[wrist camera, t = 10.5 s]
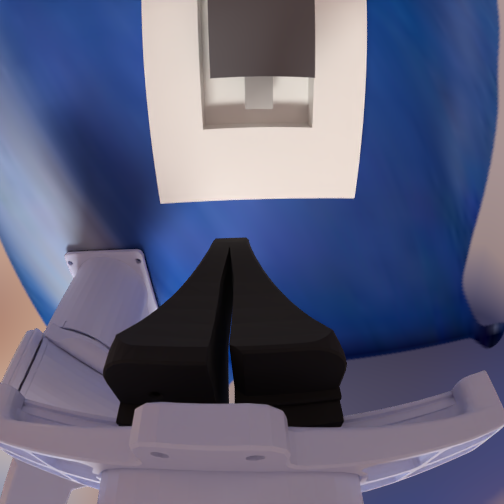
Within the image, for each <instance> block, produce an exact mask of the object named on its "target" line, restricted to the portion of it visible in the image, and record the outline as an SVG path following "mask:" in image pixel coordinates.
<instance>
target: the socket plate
mask: <svg viewBox="0 0 504 504" xmlns="http://www.w3.org/2000/svg"><path fill="white" fill-rule="evenodd" d="M142 36H143V56H144V71H145V84H146V95H147V106H148V116H149V125H150V133H151V142H152V149H153V157H154V164H155V171H156V178H157V184H158V191H159V197H160V203H161V204H164V203H179V202H197V201H217V200H243V199H280V198H354V197H355V190H356V183H357V175H358V166H359V158H360V148H361V138H362V127H363V115H364V101H365V83H366V57H367V4H366V0H315V78H309V77H281V76H273V109H245V82H244V77H226V78H210V61H209V35H208V0H142Z"/></svg>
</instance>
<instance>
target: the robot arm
mask: <svg viewBox="0 0 504 504" xmlns="http://www.w3.org/2000/svg"><path fill="white" fill-rule="evenodd" d="M137 259H140V260H141V261H138V260H137ZM65 260H66V263H67V265H68V268H69V270H70V273H71V275H72V277H73V280H72V282H71V284H70V285H69V287H68V289H67V291H66V292H65V294H64V296H63V298H62V300H61V301H60V303H59V305H58V307H57V309H56V311H55V313H54V314H53V316H52V318H51V320H50V322H49V324H48V326H47V328H46V330H45V331H44V333H42V332H41V331H40V330H39V329H37V328H36V329H34V330H30V331H27V332H26V334H25V335H24V337H23V339H22V341H21V342H20V345H19V346H18V348H17V350H16V352H15V354H14V356H13V358H12V360H11V362H10V364H9V366H8V368H7V371H6V373H5V375H4V377H3V380H2V382H0V449H1V450H3V451H4V452H6V453H7V454H9V455H10V456H12V457H13V459H12V462H11V465H10V468H9V471H8V474H7V477H6V481H5V484H4V487H3V491H2V494H1V498H0V504H67V501H68V498H69V496H70V493H71V491H72V490H74V489H77V488H82V487H87V486H88V487H92V488H95V489H98V490H99V495H98V502H97V504H363V498H362V492H365V491H369V490H372V489H376V488H379V487H382V486H385V485H389V484H392V483H395V482H398V481H400V480H403V479H406V478H409V477H412V476H414V475H417V474H419V473H422V472H424V471H427V470H429V469H432V468H434V467H437V466H439V465H441V464H444V463H446V462H448V461H450V460H453V459H455V458H457V457H460V456H462V455H464V454H466V453H468V452H470V451H472V450H474V449H476V448H477V447H478V446H480V445H481V444H482V443H484V442H485V441H486V440H488V439H489V438H490V437H491V436H493V435H494V434H495V433H496V432H498V431H499V430H500V429H501V428H502V427H504V409H503V407H502V404H501V402H500V400H499V397H498V395H497V393H496V391H495V389H494V387H493V385H492V383H491V381H490V379H489V377H488V375H487V373H486V371H481V372H479V373H476V374H473V375H470V376H467V377H465V378H463V379H461V380H460V381H459V382H458V383H457V384H456V385H455V386H454V388H453V389H452V391H449V392H446V393H443V394H440V395H437V396H433V397H429V398H426V399H422V400H418V401H415V402H411V403H407V404H403V405H399V406H394V407H390V408H385V409H381V410H375V411H370V412H366V413H360V414H354V415H348V416H343V413H342V408H341V404H340V400H341V392H340V387H339V386H340V384H341V381H342V379H343V376H344V373H345V371H346V366H347V362H346V358H345V354H344V352H343V349H342V347H341V345H340V343H339V341H338V339H337V337H336V335H335V333H334V331H333V330H332V329H330V328H328V327H326V326H325V325H323V324H321V323H319V322H318V321H316V320H314V319H313V318H311V317H310V316H308V315H307V314H306V313H304V312H303V311H302V310H300V309H299V308H298V307H297V306H296V305H294V304H293V303H292V302H291V301H290V300H289V299H288V298H287V297H286V296H285V295H284V294H283V293H282V292H281V291H280V290H279V289H278V288H277V287H276V286H275V285H274V283H273V282H272V281H271V280H270V278H269V277H268V276H267V274H266V273H265V271H264V270H263V268H262V267H261V265H260V264H259V262H258V260H257V259H256V257H255V255H254V253H253V251H252V249H251V246H250V244H249V240H248V239H247V238H221V239H215V240H214V241H213V243H212V245H211V247H210V248H209V250H208V252H207V253H206V255H205V257H204V258H203V259H202V261H201V262H200V264H199V265H198V267H197V268H196V270H195V271H194V272H193V273H192V275H191V276H190V277H189V278H188V280H187V281H186V282H185V283H184V284H183V285H182V287H181V288H180V289H179V290H178V291H177V292H176V293H175V294H174V295H173V296H172V297H171V298H170V299H168V300H167V301H166V302H165V303H164V304H163V305H161V306H160V307H159V308H158V305H157V302H156V298H155V295H154V291H153V288H152V284H151V281H150V277H149V273H148V270H147V266H146V262H145V258H144V254H143V252H142V251H141V250H139V249H126V250H102V251H79V252H67V253H66V254H65ZM232 308H233V310H232ZM231 317H232V323H231ZM230 326H231V334H230ZM229 335H230V343H229ZM229 345H230V354H231V362H232V370H233V378H234V386H235V404H229V384H228V347H229Z"/></svg>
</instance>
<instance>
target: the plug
mask: <svg viewBox="0 0 504 504" xmlns="http://www.w3.org/2000/svg"><path fill="white" fill-rule="evenodd" d="M208 35H209V61H210V78H226V77H244V82H245V109H273V76H281V77H309V78H315V0H208Z"/></svg>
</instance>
